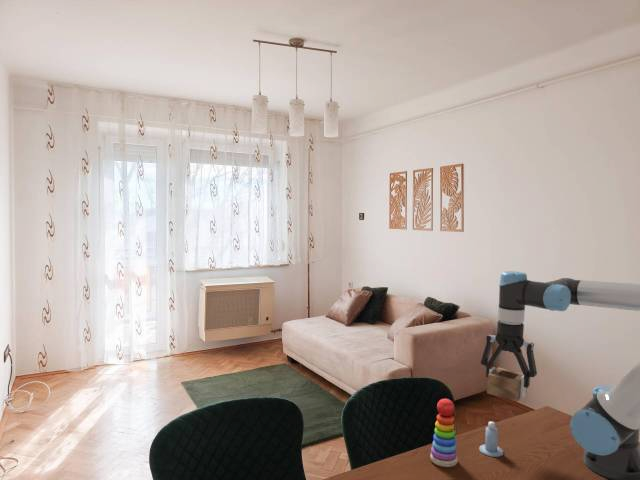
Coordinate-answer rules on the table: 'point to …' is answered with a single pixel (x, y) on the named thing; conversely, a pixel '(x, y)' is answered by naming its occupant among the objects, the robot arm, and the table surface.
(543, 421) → the table surface
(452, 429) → the stacking toy
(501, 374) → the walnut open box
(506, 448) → the table surface
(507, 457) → the table surface
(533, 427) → the table surface
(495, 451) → the pale blue pawn
